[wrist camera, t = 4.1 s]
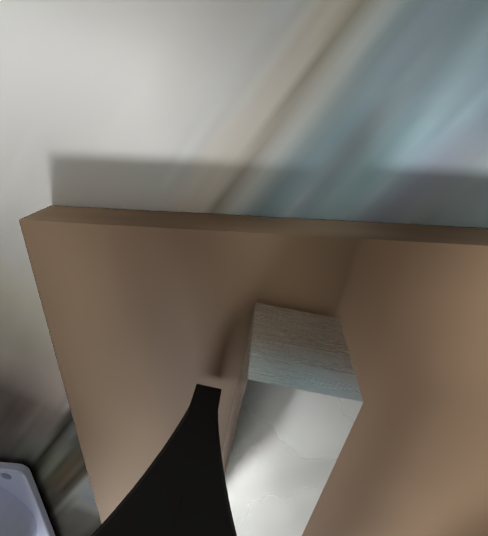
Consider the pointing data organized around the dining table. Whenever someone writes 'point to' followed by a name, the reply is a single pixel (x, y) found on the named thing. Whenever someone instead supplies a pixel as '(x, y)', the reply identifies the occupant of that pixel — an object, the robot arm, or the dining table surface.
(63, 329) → the brown wooden board
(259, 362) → the bar
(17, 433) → the dining table surface
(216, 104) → the dining table surface
